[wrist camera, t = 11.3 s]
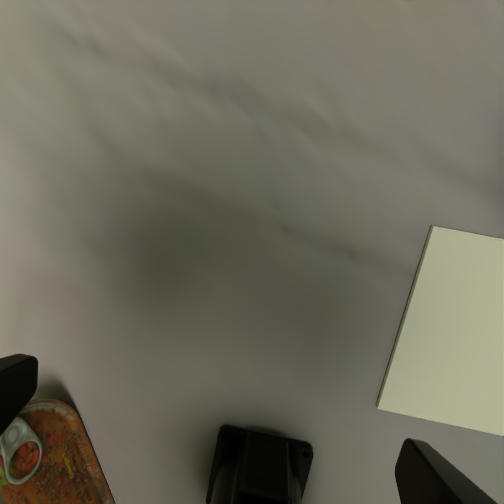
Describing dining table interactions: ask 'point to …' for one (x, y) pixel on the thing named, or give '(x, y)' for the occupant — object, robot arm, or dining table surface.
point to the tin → (49, 458)
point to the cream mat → (452, 336)
